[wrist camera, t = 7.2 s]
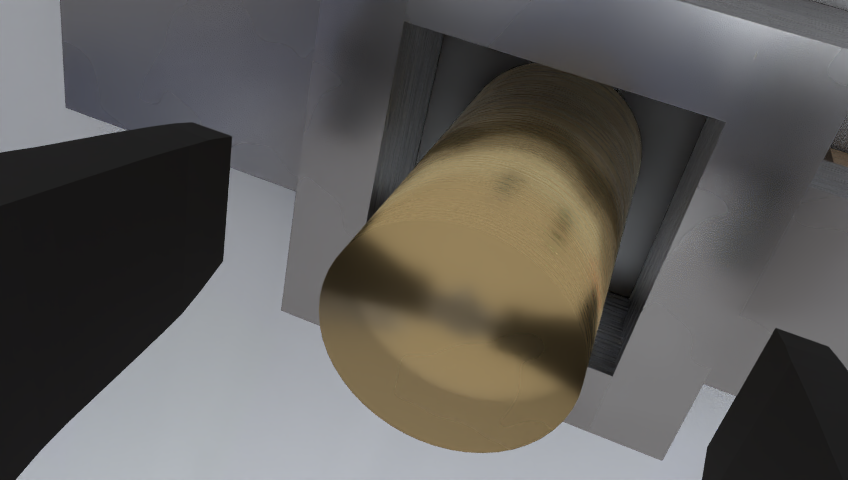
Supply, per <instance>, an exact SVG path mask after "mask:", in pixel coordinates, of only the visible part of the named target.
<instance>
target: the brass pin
mask: <svg viewBox="0 0 848 480" xmlns="http://www.w3.org/2000/svg"><path fill="white" fill-rule="evenodd" d="M641 159H642V145H641V137H640V133H639V129H638V126H637V123H636V120H635V118H634V116H633V114H632V112H631V110H630V108H629V107H628V105H627V104H626V102H625V101H624V100H623V98H622V97H621V96H620V95H619V93H618V92H617V91H616V90H614V89H613V88H612V87H611V86H609V85H606V84H603V83H599V82H596V81H593V80H590V79H587V78H583V77H580V76H577V75H574V74H571V73H567V72H564V71H561V70H558V69H555V68H551V67H548V66H545V65H542V64H539V63H531V64H525V65H522V66H519V67H515V68H513V69H511V70H509V71H506V72H504V73H503V74H501V75H499V76H498V77H496V78H495V79H493V80H492V81H491V82H490V83H489V84H487V85H486V86H485V87H484V88H483V90H482V91H481V92H480V93H479V94H478V95H477V96H476V97H475V99H474V100H473V101H472V102H471V103H470V104H469V106H468V107H467V108H466V109H465V110H464V111H463V112H462V114H461V115H460V116H459V117H458V118H457V119H456V120H455V122H454V123H453V124H452V125H451V126H450V127H449V129H448V130H447V131H446V132H445V133H444V134H443V135H442V137H441V138H440V139H439V140H438V141H437V142H436V143H435V145H434V146H433V147H432V148H431V149H430V150H429V152H428V153H427V154H426V155H425V156H424V157H423V158H422V160H421V161H420V162H419V163H418V164H417V165H416V166H415V168H414V169H413V170H412V171H411V172H410V173H409V175H408V176H407V177H406V178H405V179H404V180H403V181H402V183H401V184H400V185H399V186H398V187H397V188H396V189H395V191H394V192H393V193H392V194H391V195H390V196H389V198H388V199H387V200H386V201H385V202H384V203H383V204H382V206H381V207H380V208H379V209H378V210H377V211H376V212H375V214H374V215H373V216H372V217H371V218H370V219H369V221H368V222H367V223H366V224H365V225H364V226H363V227H362V229H361V230H360V231H359V232H358V233H357V234H356V235H355V237H354V238H353V239H352V240H351V241H350V242H349V244H348V245H347V246H346V247H345V248H344V249H343V250H342V252H341V253H340V254H339V255H338V256H337V257H336V259H335V260H334V262H333V263H332V265H331V267H330V268H329V270H328V272H327V274H326V277H325V279H324V282H323V285H322V289H321V293H320V300H319V322H320V328H321V333H322V338H323V341H324V344H325V347H326V350H327V353H328V355H329V357H330V359H331V361H332V363H333V365H334V367H335V369H336V370H337V372H338V374H339V375H340V377H341V378H342V380H343V381H344V382H345V384H346V385H347V386H348V388H349V389H350V390H351V391H352V393H353V394H354V395H355V396H356V397H357V398H358V399H359V400H360V401H361V402H362V403H363V404H364V405H365V406H366V407H367V408H369V409H370V410H371V411H372V412H373V413H374V414H375V415H377V416H378V417H380V418H381V419H382V420H384V421H385V422H387V423H388V424H389V425H391V426H393V427H394V428H396V429H398V430H400V431H401V432H403V433H405V434H407V435H409V436H411V437H414V438H416V439H418V440H420V441H423V442H426V443H429V444H431V445H434V446H438V447H442V448H446V449H450V450H456V451H462V452H474V453H490V452H501V451H506V450H512V449H516V448H519V447H522V446H525V445H528V444H530V443H532V442H535V441H537V440H539V439H541V438H542V437H544V436H545V435H547V434H548V433H550V432H551V431H553V430H554V429H555V428H556V427H557V426H558V425H559V424H561V423H562V422H563V421H564V420H565V418H566V417H567V416H568V414H569V413H570V412H571V410H572V409H573V407H574V405H575V403H576V402H577V400H578V398H579V395H580V392H581V389H582V386H583V383H584V379H585V375H586V372H587V368H588V364H589V360H590V357H591V353H592V349H593V345H594V341H595V338H596V334H597V330H598V326H599V322H600V319H601V315H602V311H603V307H604V303H605V300H606V296H607V292H608V288H609V284H610V281H611V277H612V273H613V269H614V265H615V262H616V258H617V254H618V250H619V247H620V243H621V239H622V235H623V231H624V228H625V224H626V220H627V216H628V212H629V209H630V205H631V201H632V197H633V193H634V190H635V186H636V182H637V178H638V174H639V171H640V165H641Z"/></svg>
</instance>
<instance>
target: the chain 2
mask: <svg viewBox="0 0 848 480" xmlns="http://www.w3.org/2000/svg"><path fill="white" fill-rule="evenodd" d="M426 28H427V29H430V30H433V31H436V32H440V33H443V34H446V35H449V36H452V37H456V38H459V39H462V40H465V41H468V42H472V43H475V44H478V45H481V46H484V47H488V48H491V49H494V50H497V51H500V52H504V53H507V54H510V55H513V56H516V57H520V58H523V59H526V60H529V61H532V62H535V63H539V64H542V65H545V66H548V67H551V68H555V69H558V70H561V71H564V72H567V73H571V74H574V75H577V76H580V77H583V78H587V79H590V80H593V81H596V82H599V83H603V84H606V85H609V86H612V87H615V88H619V89H622V90H625V91H628V92H631V93H635V94H638V95H641V96H644V97H647V98H651V99H654V100H657V101H660V102H663V103H667V104H670V105H673V106H676V107H679V108H683V109H686V110H689V111H692V112H695V113H699V114H702V115H705V116H708V117H711V118H715V119H716V120H715V122H714V125H713V127H712V129H711V132H710V134H709V136H708V138H707V141H706V143H705V145H704V148H703V150H702V152H701V154H700V157H699V159H698V161H697V164H696V166H695V168H694V170H693V173H692V175H691V177H690V180H689V182H688V184H687V186H686V189H685V191H684V193H683V196H682V198H681V200H680V202H679V205H678V207H677V209H676V212H675V214H674V216H673V218H672V221H671V223H670V225H669V228H668V230H667V232H666V234H665V237H664V239H663V241H662V244H661V246H660V248H659V250H658V253H657V255H656V257H655V260H654V262H653V264H652V266H651V269H650V271H649V273H648V276H647V278H646V280H645V283H644V285H643V287H642V289H641V292H640V294H639V296H638V299H637V301H636V303H635V305H634V308H633V310H632V312H631V315H630V317H629V319H628V321H627V324H626V326H625V328H624V331H623V333H622V335H620V334H617V333H615V332H612V331H609V330H607V329H604V328H601V327H598V330H597V334H596V338H595V341H594V345H593V349H592V353H591V357H590V360H589V364H588V368H587V372H586V375H585V379H584V383H583V386H582V389H581V392H580V395H579V398H578V400H577V402H576V403H575V405H574V407H573V409H572V410H571V412H570V413H569V414H568V416H567V417H566V418H565V420H564V421H563V422H565V423H568V424H570V425H573V426H575V427H578V428H580V429H583V430H585V431H588V432H591V433H593V434H596V435H598V436H601V437H603V438H606V439H608V440H611V441H613V442H616V443H618V444H621V445H623V446H626V447H629V448H631V449H634V450H636V451H639V452H641V453H644V454H646V455H649V456H651V457H654V458H656V459H659V460H661V461H662V460H663V458H664V457H665V455H666V453H667V451H668V449H669V447H670V445H671V443H672V442H673V440H674V438H675V436H676V434H677V432H678V430H679V429H680V427H681V425H682V423H683V421H684V419H685V417H686V415H687V414H688V412H689V410H690V408H691V406H692V404H693V402H694V400H695V399H696V397H697V395H698V393H699V391H700V389H701V387H702V385H703V384H705V385H708V386H711V387H713V388H716V389H719V390H721V391H724V392H727V393H729V394H732V395H735V396H737V394H738V393H739V391H740V389H741V387H742V386H743V384H744V382H745V380H746V379H747V377H748V375H749V373H750V372H751V370H752V368H753V366H754V365H755V363H756V361H757V359H758V358H759V356H760V354H761V352H762V351H763V349H764V347H765V345H766V344H767V342H768V340H769V338H770V337H771V335H772V333H773V331H774V330H775V328H778V329H781V330H783V331H786V332H789V333H792V334H795V335H798V336H800V337H803V338H806V339H809V340H812V341H815V342H817V343H820V344H823V345H826V346H829V348H830V349H831V350H832V351H833V352H834V353H835V355H836V356H837V357H838V358H839V360H840V361H841V362H842V363H843V365H844V366H845V367H846V369H847V370H848V153H845V152H842V151H839V150H836V149H832V148H830V146H831V144H832V142H833V140H834V138H835V137H836V135H837V133H838V131H839V129H840V127H841V125H842V124H843V122H844V120H845V118H846V116H847V114H848V28H844V27H841V26H837V25H834V24H830V23H826V22H823V21H819V20H816V19H812V18H809V17H805V16H802V15H798V14H795V13H791V12H788V11H784V10H781V9H777V8H774V7H770V6H767V5H763V4H760V3H756V2H752V1H749V0H321V1H320V9H319V17H318V25H317V33H316V40H315V48H314V56H313V64H312V72H311V80H310V88H309V95H308V103H307V111H306V119H305V127H304V135H303V142H302V150H301V158H300V166H299V174H298V182H297V190H296V197H295V205H294V213H293V221H292V229H291V237H290V245H289V252H288V260H287V268H286V276H285V284H284V292H283V299H282V307H281V311H284V312H286V313H289V314H291V315H294V316H296V317H299V318H302V319H304V320H307V321H309V322H312V323H314V324H317V325H319V326H320V322H319V300H320V293H321V289H322V285H323V282H324V279H325V277H326V274H327V272H328V270H329V268H330V267H331V265H332V263H333V262H334V260H335V259H336V257H337V256H338V255H339V254H340V253H341V252H342V250H343V249H344V248H345V247H346V246H347V245H348V244H349V242H350V241H351V240H352V239H353V238H354V237H355V235H356V234H357V233H358V232H359V231H360V230H361V229H362V227H363V226H364V225H365V224H366V223H367V222H368V221H369V219H370V218H371V217H372V216H373V215H374V214H375V212H376V211H377V210H378V209H379V208H380V207H381V206H382V204H383V203H384V202H385V201H386V200H387V199H388V198H389V196H390V195H391V194H392V191H393V186H394V182H395V177H396V172H397V167H398V162H399V157H400V152H401V147H402V142H403V138H404V133H405V128H406V123H407V118H408V113H409V108H410V103H411V98H412V93H413V89H414V84H415V79H416V74H417V69H418V64H419V59H420V54H421V49H422V44H423V40H424V35H425V30H426ZM829 148H830V149H829ZM828 150H829V151H828ZM826 153H827V154H826ZM825 155H826V156H825ZM824 157H825V158H824ZM823 159H824V160H823Z"/></svg>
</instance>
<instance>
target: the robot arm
mask: <svg viewBox="0 0 848 480" xmlns="http://www.w3.org/2000/svg"><path fill="white" fill-rule="evenodd" d="M231 147H232V136H230V135H227V134H225V133H222V132H219V131H216V130H213V129H210V128H208V127H205V126H202V125H199V124H196V123H193V122H187V123H173V124H165V125H158V126H151V127H145V128H139V129H133V130H127V131H122V132H116V133H111V134H105V135H100V136H94V137H89V138H83V139H78V140H73V141H67V142H62V143H56V144H51V145H45V146H40V147H34V148H27V149H21V150H14V151H8V152H1V153H0V480H16V479H17V477H18V476H19V475H20V474H21V473H22V472H23V470H24V469H25V468H26V467H27V466H28V465H29V463H30V462H31V461H32V460H33V459H34V458H35V456H36V455H37V454H38V453H39V452H40V451H41V450H42V449H43V447H44V446H45V445H46V444H47V443H48V442H49V441H50V440H51V439H52V438H53V437H54V436H55V435H56V434H57V433H58V432H59V431H60V430H61V429H62V428H63V427H64V426H65V425H66V424H67V423H68V422H69V421H70V420H71V419H72V418H73V417H74V416H75V415H76V414H77V413H78V412H80V411H81V410H82V409H83V408H84V407H85V406H86V405H87V404H88V403H89V402H90V401H91V400H92V399H93V398H94V397H95V396H96V395H98V394H99V393H100V392H101V391H102V390H103V389H104V388H105V387H106V386H107V385H108V384H109V383H110V382H111V381H112V380H113V379H115V378H116V377H117V376H118V375H119V374H120V373H121V372H122V371H123V370H124V369H125V368H126V367H127V366H128V365H129V364H130V363H131V362H133V361H134V360H135V359H136V358H137V357H138V356H139V355H140V354H141V353H142V352H143V351H144V350H145V349H146V348H147V347H148V346H149V345H150V344H151V343H152V342H153V341H155V340H156V339H157V338H158V337H159V336H160V335H161V334H162V333H163V332H164V331H165V330H166V329H167V328H168V327H169V326H170V325H171V324H172V323H173V322H174V321H175V320H176V319H177V318H178V317H179V316H180V315H181V314H182V313H183V312H184V311H185V309H186V308H187V307H188V306H189V304H190V303H191V302H192V301H193V300H194V298H195V297H196V296H197V295H198V293H199V292H200V291H201V290H202V288H203V287H204V286H205V284H206V283H207V282H208V280H209V279H210V278H211V276H212V275H213V274H214V272H215V271H216V270H217V268H218V267H219V266H220V264H221V263H222V262H223V254H224V241H225V227H226V214H227V201H228V187H229V174H230V160H231ZM702 480H848V370H847V369H846V367H845V366H844V365H843V363H842V362H841V361H840V360H839V358H838V357H837V356H836V355H835V353H834V352H833V351H832V350H831V349H830V348H829V346H826V345H823V344H820V343H817V342H815V341H812V340H809V339H806V338H803V337H800V336H798V335H795V334H792V333H789V332H786V331H783V330H781V329H778V328H775V330H774V331H773V333H772V335H771V337H770V338H769V340H768V342H767V344H766V345H765V347H764V349H763V351H762V352H761V354H760V356H759V358H758V359H757V361H756V363H755V365H754V366H753V368H752V370H751V372H750V373H749V375H748V377H747V379H746V380H745V382H744V384H743V386H742V387H741V389H740V391H739V393H738V394H737V396H736V398H735V400H734V401H733V403H732V405H731V407H730V408H729V410H728V412H727V414H726V415H725V417H724V419H723V421H722V422H721V424H720V426H719V428H718V429H717V431H716V433H715V435H714V436H713V438H712V440H711V442H710V443H709V445H708V447H707V453H706V459H705V465H704V471H703V477H702Z"/></svg>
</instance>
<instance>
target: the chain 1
mask: <svg viewBox="0 0 848 480" xmlns="http://www.w3.org/2000/svg"><path fill="white" fill-rule="evenodd" d="M320 1H321V0H60V9H61V27H62V46H63V65H64V84H65V103H66V108H68V109H71V110H74V111H76V112H79V113H82V114H85V115H87V116H90V117H93V118H96V119H98V120H101V121H104V122H107V123H109V124H112V125H115V126H118V127H120V128H123V129H126V130H133V129H139V128H145V127H151V126H158V125H165V124H173V123H187V122H193V123H196V124H199V125H202V126H205V127H208V128H210V129H213V130H216V131H219V132H222V133H225V134H227V135H230V136H232V147H231V160H230V167H231V168H233V169H236V170H239V171H242V172H244V173H247V174H250V175H253V176H255V177H258V178H261V179H264V180H266V181H269V182H272V183H275V184H277V185H280V186H283V187H286V188H288V189H291V190H294V191H296V190H297V182H298V174H299V166H300V158H301V150H302V142H303V135H304V127H305V119H306V111H307V103H308V95H309V88H310V80H311V72H312V64H313V56H314V48H315V40H316V33H317V25H318V17H319V9H320ZM749 1H752V2H756V3H760V4H763V5H767V6H770V7H774V8H777V9H781V10H784V11H788V12H791V13H795V14H798V15H802V16H805V17H809V18H812V19H816V20H819V21H823V22H826V23H830V24H834V25H837V26H841V27H844V28H848V11H845V10H842V9H838V8H835V7H831V6H828V5H824V4H820V3H817V2H813V1H810V0H749ZM443 35H444V34H443V33H440V32H436V31H433V30H430V29H427V28H426V30H425V35H424V40H423V44H422V49H421V54H420V59H419V64H418V69H417V74H416V79H415V84H414V89H413V93H412V98H411V103H410V108H409V113H408V118H407V123H406V128H405V133H404V138H403V142H402V147H401V152H400V157H399V162H398V167H397V172H396V177H395V182H394V186H393V191H392V193H393V192H394V191H395V189H396V188H397V187H398V186H399V185H400V184H401V183H402V181H403V180H404V179H405V178H406V177H407V176H408V175H409V173H410V172H411V171H412V170H413V169H414V168H415V164H416V159H417V155H418V150H419V145H420V141H421V136H422V132H423V127H424V122H425V118H426V113H427V109H428V104H429V99H430V95H431V90H432V86H433V81H434V77H435V72H436V67H437V63H438V58H439V54H440V49H441V44H442V40H443ZM715 120H716V119H715V118H711V117H707V119H706V122H705V124H704V126H703V129H702V131H701V133H700V136H699V138H698V140H697V143H696V145H695V147H694V150H693V152H692V154H691V157H690V159H689V161H688V164H687V166H686V168H685V171H684V173H683V175H682V178H681V180H680V182H679V184H678V187H677V189H676V191H675V194H674V196H673V198H672V201H671V203H670V205H669V208H668V210H667V212H666V215H665V217H664V219H663V222H662V224H661V226H660V229H659V231H658V233H657V236H656V238H655V240H654V243H653V245H652V247H651V250H650V252H649V254H648V257H647V259H646V261H645V264H644V266H643V268H642V271H641V273H640V275H639V277H638V280H637V282H636V284H635V287H634V289H633V291H632V294H631V296H630V298H629V299H628V298H625V297H622V296H619V295H616V294H614V293H611V292H607V296H606V300H605V303H604V307H603V311H602V315H601V319H600V322H599V326H598V327H601V328H604V329H607V330H609V331H612V332H615V333H617V334H620V335H622V333H623V331H624V328H625V326H626V324H627V321H628V319H629V317H630V315H631V312H632V310H633V308H634V305H635V303H636V301H637V299H638V296H639V294H640V292H641V289H642V287H643V285H644V283H645V280H646V278H647V276H648V273H649V271H650V269H651V266H652V264H653V262H654V260H655V257H656V255H657V253H658V250H659V248H660V246H661V244H662V241H663V239H664V237H665V234H666V232H667V230H668V228H669V225H670V223H671V221H672V218H673V216H674V214H675V212H676V209H677V207H678V205H679V202H680V200H681V198H682V196H683V193H684V191H685V189H686V186H687V184H688V182H689V180H690V177H691V175H692V173H693V170H694V168H695V166H696V164H697V161H698V159H699V157H700V154H701V152H702V150H703V148H704V145H705V143H706V141H707V138H708V136H709V134H710V132H711V129H712V127H713V125H714V122H715Z"/></svg>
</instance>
